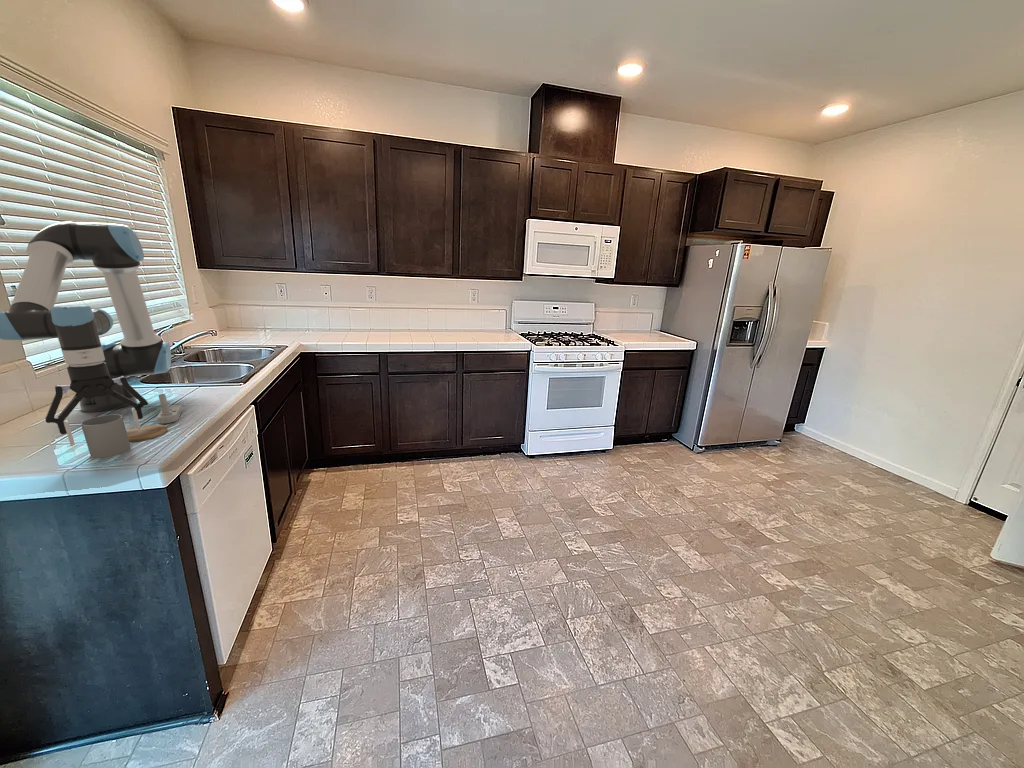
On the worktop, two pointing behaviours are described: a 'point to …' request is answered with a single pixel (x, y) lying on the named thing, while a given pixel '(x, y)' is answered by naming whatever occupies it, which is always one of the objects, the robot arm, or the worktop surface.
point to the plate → (146, 432)
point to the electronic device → (168, 411)
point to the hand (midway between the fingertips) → (107, 436)
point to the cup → (106, 436)
